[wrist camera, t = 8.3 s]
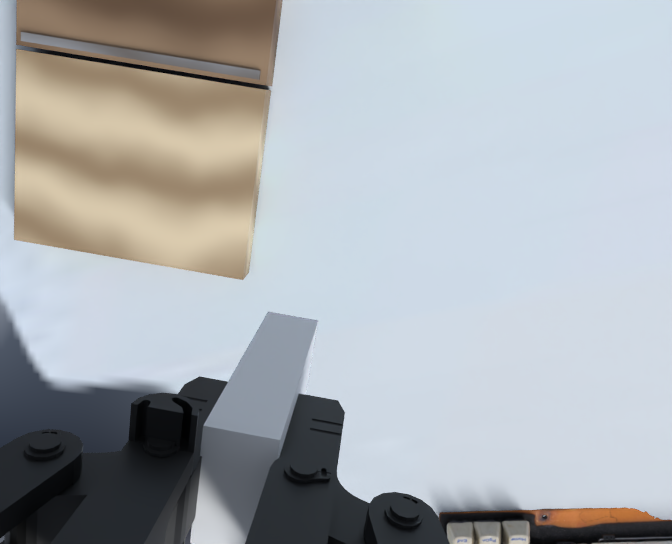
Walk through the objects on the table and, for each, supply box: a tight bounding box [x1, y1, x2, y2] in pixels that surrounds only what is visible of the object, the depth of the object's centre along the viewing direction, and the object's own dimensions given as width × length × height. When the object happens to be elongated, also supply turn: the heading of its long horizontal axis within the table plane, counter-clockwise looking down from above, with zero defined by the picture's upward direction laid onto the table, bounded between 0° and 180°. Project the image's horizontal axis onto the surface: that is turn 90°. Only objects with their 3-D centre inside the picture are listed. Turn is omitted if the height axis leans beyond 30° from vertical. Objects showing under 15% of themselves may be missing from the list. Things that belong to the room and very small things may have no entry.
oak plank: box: [14, 49, 271, 280], centre depth 46 cm, size 14×18×2 cm
